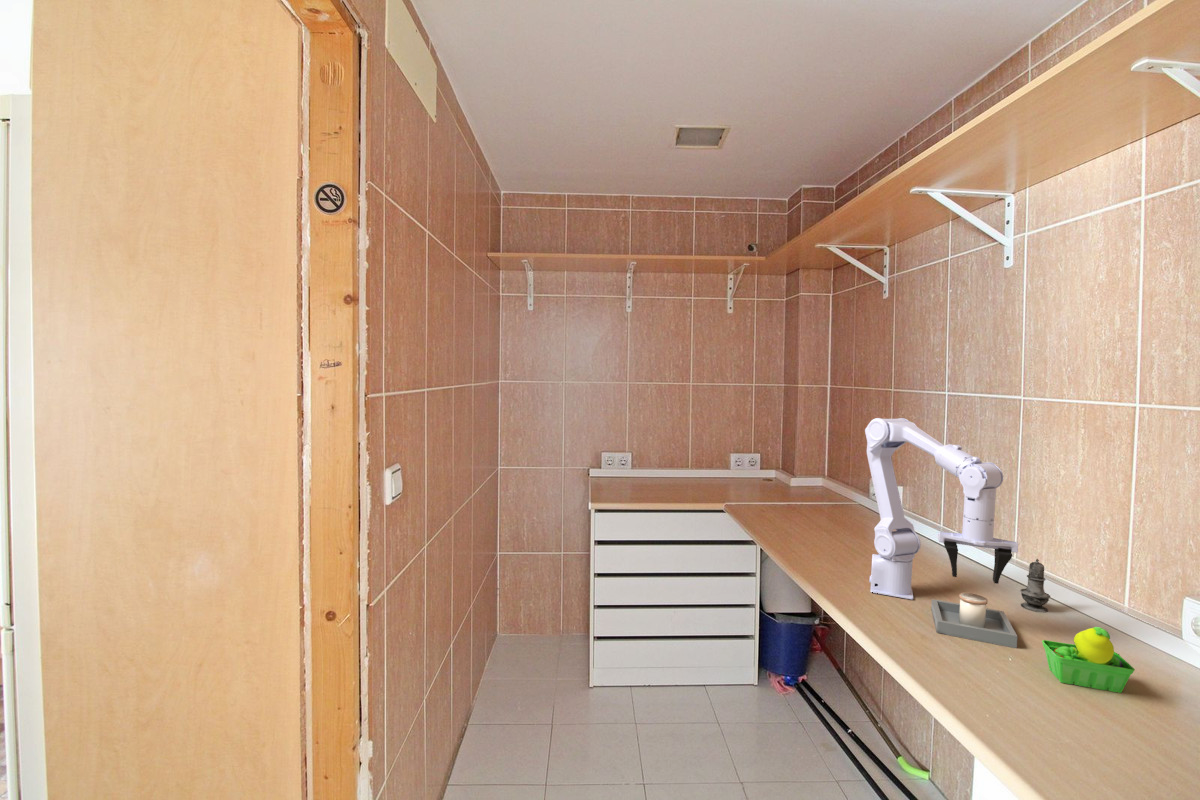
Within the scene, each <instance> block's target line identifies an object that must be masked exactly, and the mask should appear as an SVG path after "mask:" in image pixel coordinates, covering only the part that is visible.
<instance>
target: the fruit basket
mask: <svg viewBox="0 0 1200 800" xmlns="http://www.w3.org/2000/svg"><path fill="white" fill-rule="evenodd" d="M1110 639H1111V635H1110V633H1109V632H1108V630H1106V629H1104V628H1102V627H1099V626H1094V627H1091V628H1087V629H1085V630H1081V631H1079V632H1078V633H1076V634H1075V636H1074V637H1073V642H1074V644H1072V643H1066V642H1058V641H1052V640H1045V639H1043V640H1041V643H1042V647H1043V648H1044V651H1045V656H1046V661H1047V665H1048V669H1049V671H1050V672H1051V673H1052V674H1053V675H1054V677H1055V678H1056V679H1058V681H1059V682H1060V683H1061V684H1066V685H1068V684H1069V685H1074V686H1079V687H1083V688H1092V689H1094V690H1095V689H1096V690H1101V691H1109V692H1113V693H1117V692H1118V693H1119V694H1121V693H1122V692H1123V690H1124V688H1125V687H1126V685H1127V683H1128V681H1129V679H1130V677H1131V675H1133V673H1134V672H1135V668H1134V667H1133V666H1132V665H1131V664H1130V663H1129V662H1128V661H1127V660H1126V659H1124V658H1123V657H1122V656H1121V655H1120V654H1118V652H1116V651H1115V647H1114V645H1113V642H1112V641H1111V640H1110Z"/></svg>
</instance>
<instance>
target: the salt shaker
mask: <svg viewBox="0 0 1200 800" xmlns="http://www.w3.org/2000/svg"><path fill="white" fill-rule="evenodd" d="M1039 561H1040V560H1039V558H1036V559H1035V561H1032V562H1030V563H1029V564H1028V565H1029V566H1028V575H1027V574H1026V578H1027V586H1026V587H1025V588H1021V589H1020V590H1019V592H1020V595H1021V597H1022V599H1023V601H1024V602H1021V603H1020V606H1021V607H1022V608H1023V609H1026V610H1029V611H1032V612H1036V613H1048V612H1049V609H1048V608H1047V607H1045V605H1046V604H1047V603H1048V602H1049V601H1050V599H1051V595H1050V594H1049V593H1047V592H1046V591H1045V587H1044V586H1045V585H1044V584H1045V583H1044V582H1045V581H1046V578H1045V566H1044V564H1042V563H1041V562H1039Z"/></svg>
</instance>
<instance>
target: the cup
mask: <svg viewBox="0 0 1200 800" xmlns="http://www.w3.org/2000/svg"><path fill="white" fill-rule="evenodd" d="M958 598H959V604H960V611H959V623H960V624H964V625H969V626H974V627H980V628H985V618H986V608H987V604H988V602H989V600H988V598H986V597H984V596H983V595H979V594H977V593H971V592H961V593H959V596H958Z"/></svg>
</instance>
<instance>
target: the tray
mask: <svg viewBox="0 0 1200 800" xmlns="http://www.w3.org/2000/svg"><path fill="white" fill-rule="evenodd" d="M930 607H931V609H930V610H931V613H932V617H933V618H932V619H933V623H934V628H935V630H936V634H941V635H946V636H951V637H958V638H963V639H968V640H972V641H977V642H983V643H987V644H991V645H992V644H993V645H996V646H997V645H999V646H1003V647H1007V648H1013V649H1017V647H1018V635H1017V633H1016V630H1014V628H1013V626H1012V623H1011V622H1010V620H1009V619H1008V617H1007V615H1006V613H1005V611H1004V610H999V609H993V608H987V607H986V618H985V628H980V627H974V626H969V625H964V624H960V623H959V611H960V603H956V602H951V601H946V600H941V599H934V598H932V599H931V606H930Z"/></svg>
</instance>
